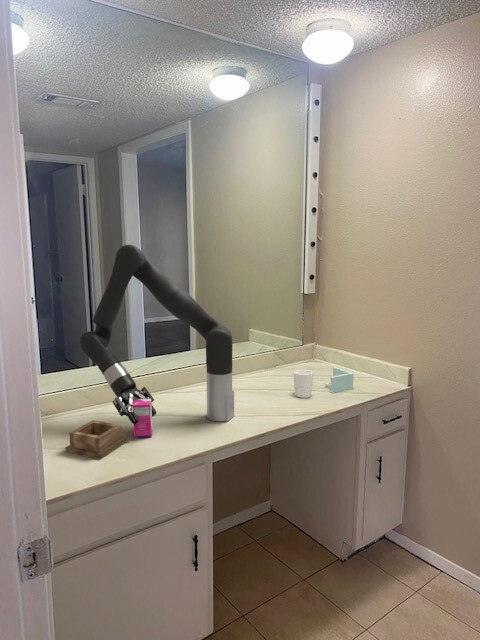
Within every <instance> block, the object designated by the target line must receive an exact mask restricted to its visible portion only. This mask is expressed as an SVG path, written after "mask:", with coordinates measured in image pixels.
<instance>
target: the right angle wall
mask: <svg viewBox="0 0 480 640" xmlns="http://www.w3.org/2000/svg"><path fill="white" fill-rule="evenodd" d="M325 387H328V389H329V388H330V389H329V393H330V394H335V392H336V393H340V392H345V391H349V390H348V389H350V390H353V388H354V373H353V372H351V371H348V370H344V369H341V368H338V367H336V366H334V367H333V368H332V376H330V381H328V382H325ZM344 390H345V391H344Z"/></svg>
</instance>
